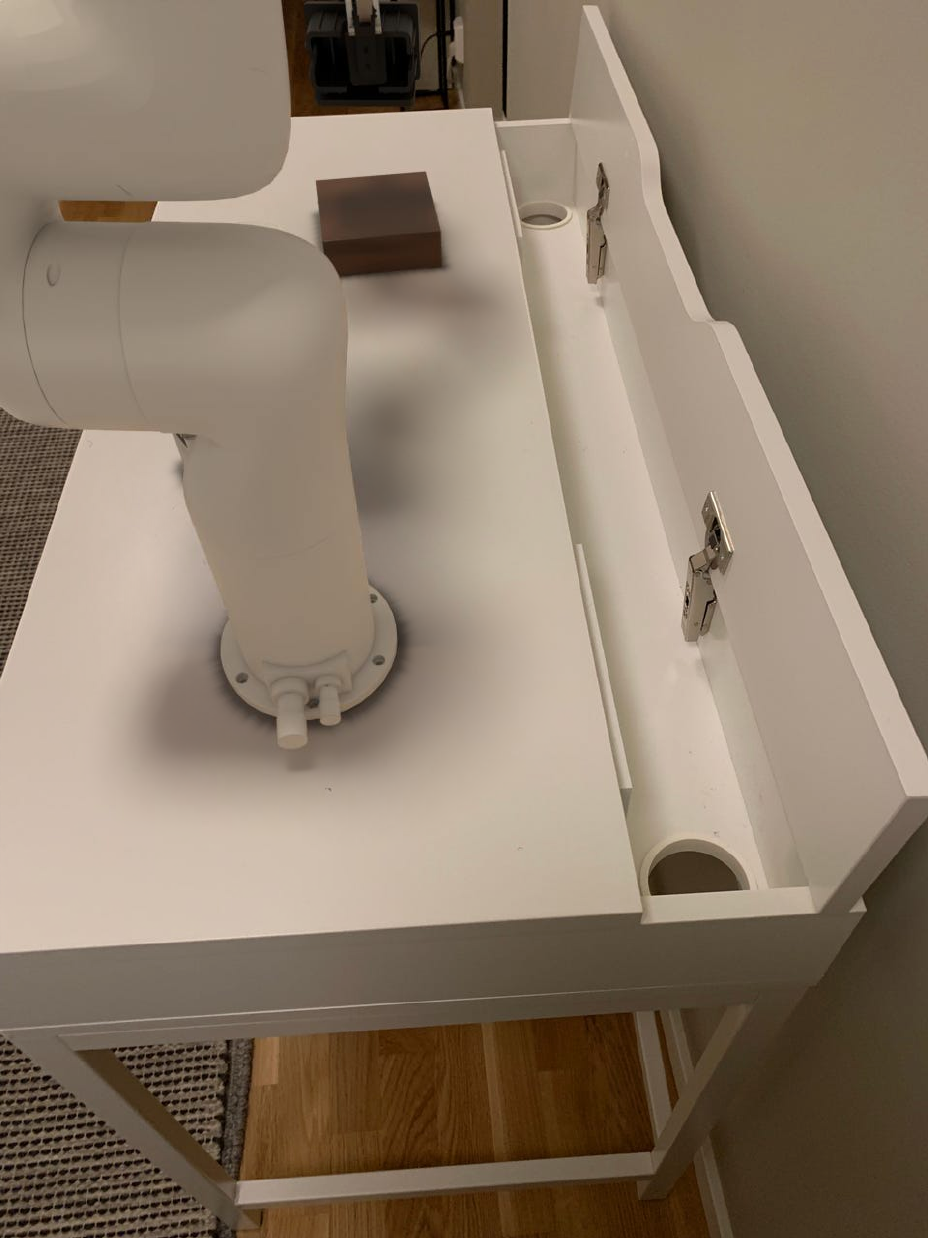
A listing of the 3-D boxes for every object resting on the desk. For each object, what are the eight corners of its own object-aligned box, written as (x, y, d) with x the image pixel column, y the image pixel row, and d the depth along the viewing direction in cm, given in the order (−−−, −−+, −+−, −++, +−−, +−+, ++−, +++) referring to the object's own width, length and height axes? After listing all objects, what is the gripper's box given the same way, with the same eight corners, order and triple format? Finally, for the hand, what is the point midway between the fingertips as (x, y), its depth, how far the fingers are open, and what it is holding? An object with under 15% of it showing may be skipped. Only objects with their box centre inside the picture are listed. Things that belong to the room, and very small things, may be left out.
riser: (441, 266, 92) (441, 230, 89) (327, 277, 91) (322, 241, 88) (427, 206, 99) (426, 170, 96) (320, 215, 98) (315, 179, 95)
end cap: (422, 72, 84) (418, -11, 78) (419, 107, 80) (415, 22, 74) (317, 72, 84) (306, -11, 78) (309, 107, 80) (297, 22, 74)
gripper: (287, -224, 70) (318, 25, 84) (296, -161, 60) (329, 110, 74) (381, -228, 71) (395, 20, 85) (405, -167, 61) (417, 103, 75)
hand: (364, 60), depth 80 cm, fingers closed on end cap, 7 cm apart
